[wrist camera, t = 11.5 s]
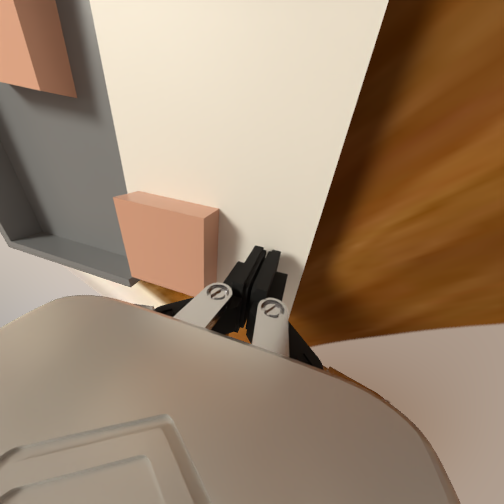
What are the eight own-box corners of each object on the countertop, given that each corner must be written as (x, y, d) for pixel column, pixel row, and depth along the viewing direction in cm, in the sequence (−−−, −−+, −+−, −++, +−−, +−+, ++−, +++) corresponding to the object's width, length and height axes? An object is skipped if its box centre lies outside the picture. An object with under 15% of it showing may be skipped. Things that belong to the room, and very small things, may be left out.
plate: (116, -88, 9) (58, -156, 7) (417, -116, 7) (461, -232, 5) (162, 260, 19) (143, 274, 17) (291, 298, 17) (288, 319, 15)
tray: (-75, -78, 12) (-232, -168, 8) (115, -98, 9) (-2, -240, 6) (56, 231, 22) (9, 246, 19) (162, 262, 20) (130, 287, 16)
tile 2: (138, 190, 13) (112, 197, 12) (219, 208, 12) (203, 218, 11) (150, 263, 16) (131, 276, 15) (216, 282, 15) (203, 299, 14)
